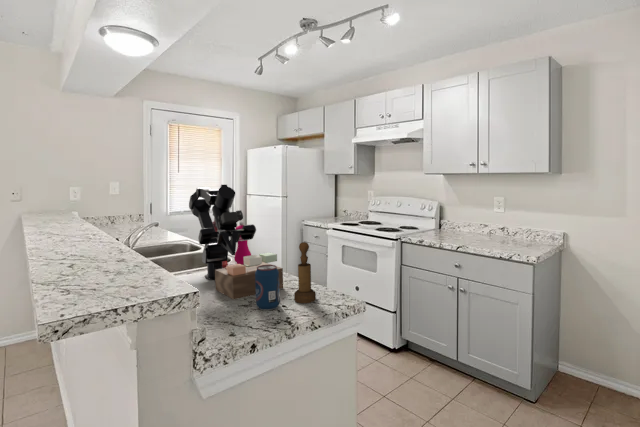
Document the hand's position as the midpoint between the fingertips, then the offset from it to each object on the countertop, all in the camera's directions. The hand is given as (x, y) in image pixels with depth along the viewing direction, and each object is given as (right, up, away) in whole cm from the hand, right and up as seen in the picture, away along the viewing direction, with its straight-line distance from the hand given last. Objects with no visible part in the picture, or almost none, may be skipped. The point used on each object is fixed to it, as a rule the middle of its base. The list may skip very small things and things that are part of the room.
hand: (233, 254), depth 122 cm
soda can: (+13, -14, -13) cm, 23 cm away
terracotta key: (+1, -6, -2) cm, 6 cm away
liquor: (-15, -10, +37) cm, 41 cm away
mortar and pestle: (+24, -13, -7) cm, 28 cm away
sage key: (+11, -3, +6) cm, 12 cm away
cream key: (+6, -3, +2) cm, 7 cm away
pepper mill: (-4, -10, +35) cm, 37 cm away
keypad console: (+4, -12, +5) cm, 14 cm away
